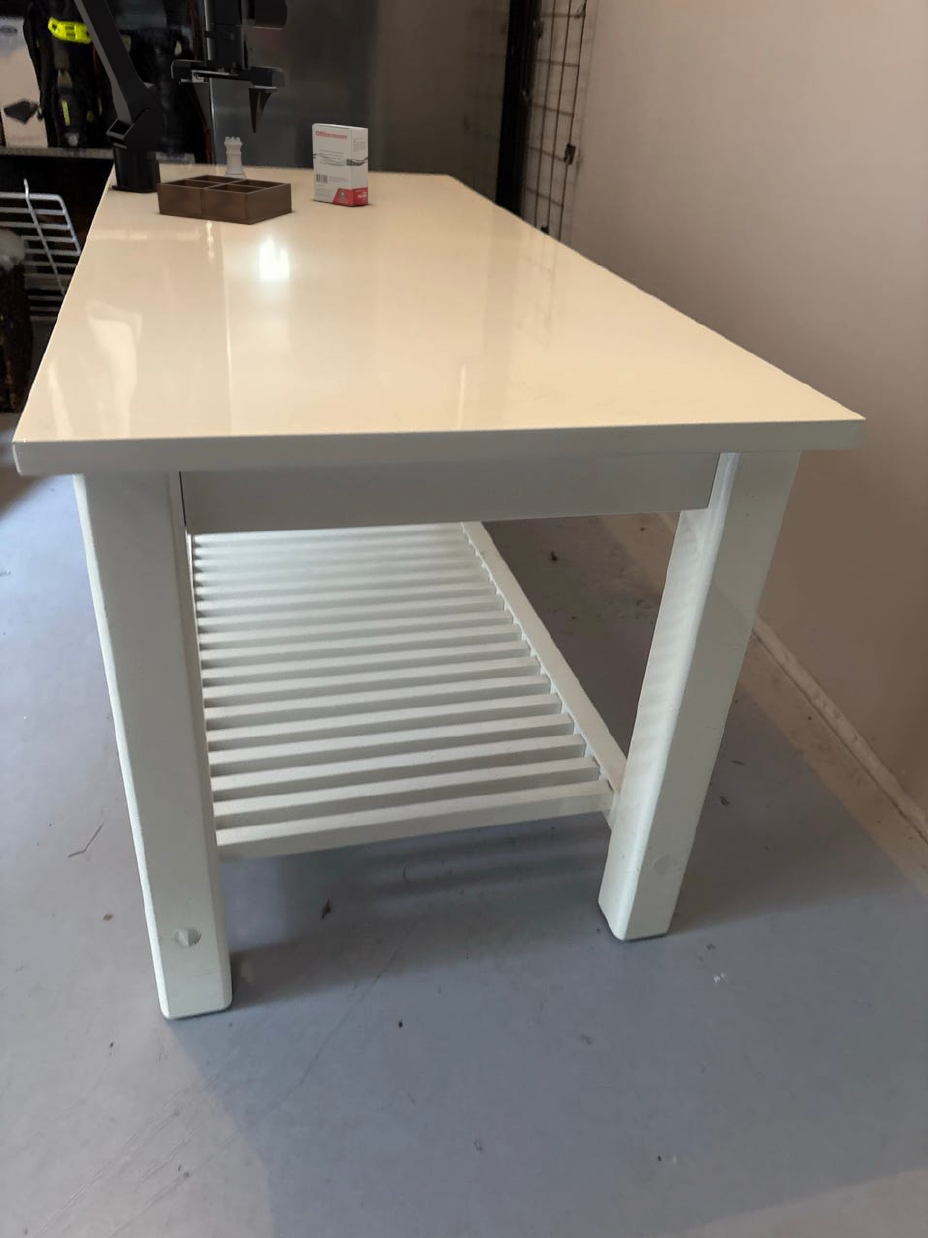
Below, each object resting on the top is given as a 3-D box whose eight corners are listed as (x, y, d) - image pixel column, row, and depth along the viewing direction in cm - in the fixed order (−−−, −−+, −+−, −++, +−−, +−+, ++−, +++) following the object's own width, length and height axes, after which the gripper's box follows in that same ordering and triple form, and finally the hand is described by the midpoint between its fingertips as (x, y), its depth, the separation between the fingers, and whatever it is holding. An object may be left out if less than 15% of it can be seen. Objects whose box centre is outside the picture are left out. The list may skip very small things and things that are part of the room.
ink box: (369, 204, 156) (370, 127, 150) (352, 206, 152) (351, 127, 146) (330, 197, 160) (329, 122, 153) (312, 199, 156) (310, 122, 150)
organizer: (159, 213, 135) (156, 183, 133) (208, 201, 147) (206, 174, 145) (249, 224, 132) (248, 193, 130) (292, 211, 144) (291, 183, 142)
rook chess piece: (245, 189, 161) (242, 139, 157) (220, 187, 161) (216, 137, 157) (251, 186, 165) (248, 137, 161) (226, 184, 165) (223, 135, 161)
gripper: (296, 30, 155) (299, 133, 163) (198, 23, 159) (206, 123, 167) (268, 27, 146) (272, 136, 154) (164, 19, 149) (174, 126, 158)
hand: (231, 130), depth 158 cm, fingers open, 9 cm apart
